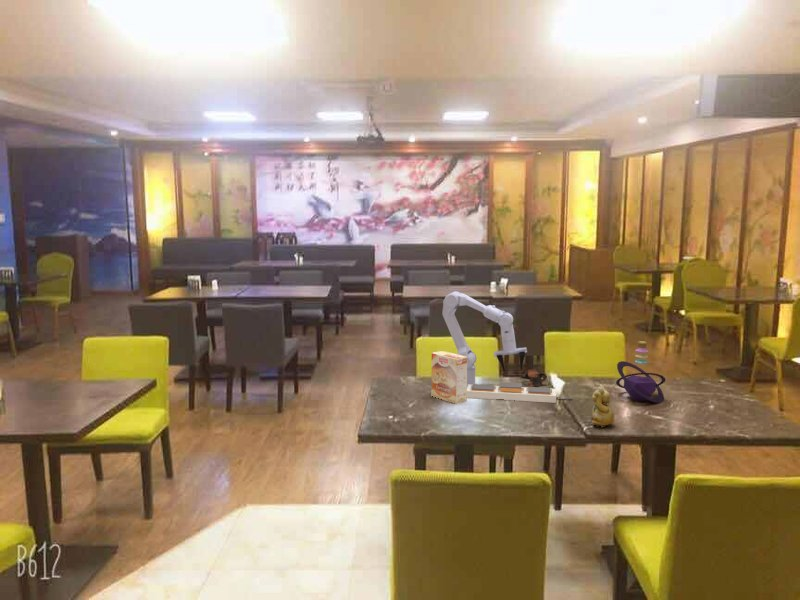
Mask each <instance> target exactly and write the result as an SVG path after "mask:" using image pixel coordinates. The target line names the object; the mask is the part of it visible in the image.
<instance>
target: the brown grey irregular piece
mask: <svg viewBox="0 0 800 600" xmlns="http://www.w3.org/2000/svg"><path fill="white" fill-rule="evenodd" d="M542 377H543V378H542ZM547 378H548V375H547V373H546V372H543V371H541V372H538V370H537V369H533V368H532V369H527V370H524V371H522V372H521V376H520V379H523V380H529V382H527V386H528V387H541V385H542V384H543V382H545V381H546V380H547Z"/></svg>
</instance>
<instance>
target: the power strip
mask: <svg viewBox="0 0 800 600" xmlns="http://www.w3.org/2000/svg"><path fill="white" fill-rule="evenodd" d="M472 386H473V385H472V384H468V387H467V399H478V398H480V399H479V400H482V399H483V400H496V399H504V400H503V401H514V400H515V401H516V402H517V401H518V402H533V403H534V402H535V403H537V402H538V403H550V404H551V403H553V404H554V403H555V404H556V403H557V400H559V399H558V398H564V399H572V400H573V397H568V396H567V397H566V396H557V391H556V389H555V388H550V392H551V395H542V394H528V387H529V386H528V387H524V386H522V392H508V391H500V385H494V392H486V391H472Z"/></svg>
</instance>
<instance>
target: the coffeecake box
mask: <svg viewBox="0 0 800 600" xmlns="http://www.w3.org/2000/svg"><path fill="white" fill-rule="evenodd" d="M430 391H431V393H430V395H431V397H432V396H433V397H432V398H435V397H436V398H435V399H438V398H439V399H438V400H441V399H442V401H446V402H448V403H451V402H452V403H451V404H454V403H455V405H457V403H458V404H460V402H461V403H465V402H467V401H468V398H467V356H462V355H458V354H457V353H453V352H451V351H450V352H449V351H445V350H440V351H435V352H434V351H433V352H431V389H430ZM464 401H465V402H464Z"/></svg>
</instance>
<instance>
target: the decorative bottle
mask: <svg viewBox="0 0 800 600" xmlns="http://www.w3.org/2000/svg"><path fill="white" fill-rule="evenodd" d="M647 344H648V343H647V341H644V340H643V341H641V340H639V341H637V345H638V347H637V348H635V350H634V351H635V352H636V353H637V354H635V355H634V357H635V358H637V359H635V361H634V363H635V364H637V365H638V364H640V365H647V364H649V362H648V361H647V360H646V359H648V358H649V355H647V354H646V353H649V352H650V351H649V350H648V349H647ZM634 363H631V362H628V361H619V362H618V363H617V364H616V367H617V371H618V374H619V375H620V378H618V379H617V380H616V382H615V384H616V385H617V386H618V387H619V388H622V389H624V390H625V391H626V393H627V394H628V395H629V397H630V398H631V399H632V400H633V401H639V402H646V401H650V402H653V403H655V404H657V403H658V404H661V403H662V402H664V399H665V397H664V393H663V390H662V389H661V387H660V386H661V385H663V384H664V383H666V380H667V379H666V378H665V376H664V375H661V374H659V373H653V372H647V371H644V369H642V368H641V367H640V366H639V367H638V366H637V365H635V364H634ZM625 367H630V368H633V369H635V370H636V371H638V372H637V373H636V372H635V373H633V372H631V373H630V374H626V375H625V373H624V368H625ZM650 375H651V376H656V377H659V378H660V379H661V381H660V382H658V383H657V382H656V381H655V380H654V378H653V377H651V376H650ZM622 380H623V385H621V381H622ZM655 391H657V396H656V397H651V396H653V394H654V393H655Z"/></svg>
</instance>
